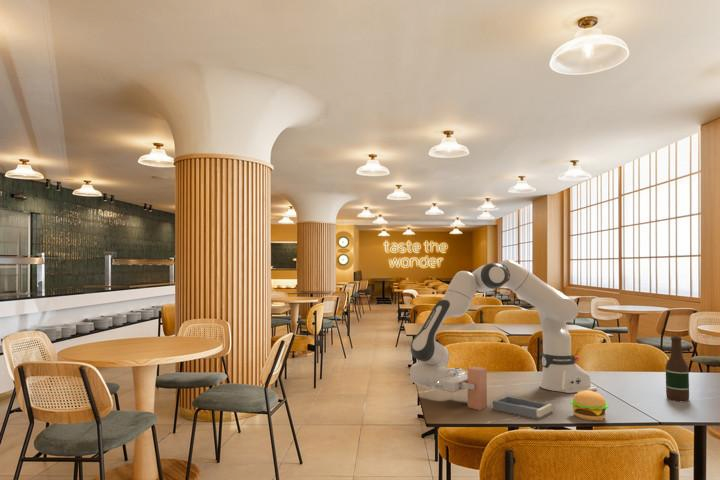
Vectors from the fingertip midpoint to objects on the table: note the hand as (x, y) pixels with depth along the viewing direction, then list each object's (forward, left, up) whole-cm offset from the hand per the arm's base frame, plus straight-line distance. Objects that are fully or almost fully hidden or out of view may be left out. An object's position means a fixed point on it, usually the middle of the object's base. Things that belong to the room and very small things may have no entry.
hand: (479, 385), depth 188 cm
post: (+1, -1, -8) cm, 8 cm away
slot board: (-13, +6, -8) cm, 17 cm away
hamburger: (-33, +15, -8) cm, 38 cm away
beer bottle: (-80, -2, -8) cm, 81 cm away
